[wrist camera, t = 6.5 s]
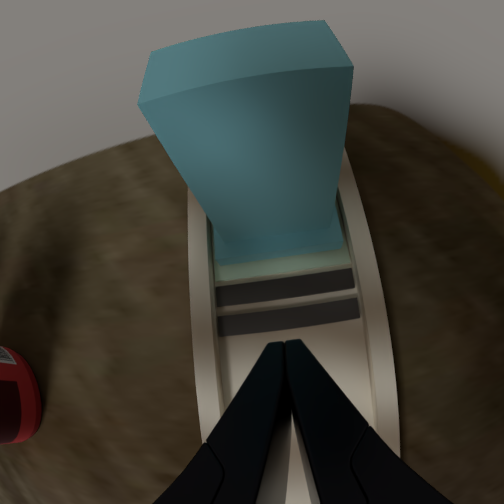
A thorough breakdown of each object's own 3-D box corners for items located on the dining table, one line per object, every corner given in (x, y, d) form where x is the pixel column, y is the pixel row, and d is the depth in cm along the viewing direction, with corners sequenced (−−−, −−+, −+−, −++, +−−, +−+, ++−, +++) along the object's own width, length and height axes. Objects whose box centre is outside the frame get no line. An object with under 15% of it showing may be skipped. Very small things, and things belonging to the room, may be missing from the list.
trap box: (388, 509, 11) (405, 537, 7) (227, 526, 12) (210, 556, 8) (336, 150, 18) (340, 113, 15) (198, 172, 19) (180, 138, 16)
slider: (340, 248, 15) (386, 85, 5) (220, 265, 15) (113, 132, 6) (325, 180, 16) (333, 10, 7) (216, 196, 17) (140, 45, 7)
